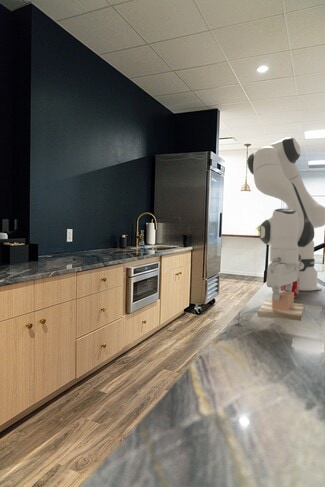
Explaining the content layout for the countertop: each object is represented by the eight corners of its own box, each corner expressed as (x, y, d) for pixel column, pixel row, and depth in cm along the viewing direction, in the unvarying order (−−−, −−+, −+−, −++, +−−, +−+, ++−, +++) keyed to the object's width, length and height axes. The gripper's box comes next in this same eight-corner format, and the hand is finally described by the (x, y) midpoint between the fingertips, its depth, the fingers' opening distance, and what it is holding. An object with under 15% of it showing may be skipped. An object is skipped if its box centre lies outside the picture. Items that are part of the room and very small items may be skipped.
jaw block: (278, 304, 115) (279, 290, 115) (293, 306, 112) (294, 292, 112) (271, 308, 110) (272, 293, 109) (287, 310, 106) (287, 295, 106)
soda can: (295, 294, 138) (296, 266, 138) (300, 298, 131) (302, 269, 131) (278, 294, 139) (279, 266, 138) (282, 298, 132) (284, 268, 131)
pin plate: (266, 303, 121) (266, 290, 121) (303, 308, 116) (304, 294, 115) (257, 315, 106) (258, 299, 106) (300, 320, 100) (301, 304, 100)
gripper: (281, 259, 100) (280, 304, 101) (303, 255, 115) (301, 294, 116) (262, 258, 104) (260, 301, 105) (285, 254, 120) (283, 291, 120)
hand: (282, 297), depth 111 cm, fingers open, 8 cm apart
